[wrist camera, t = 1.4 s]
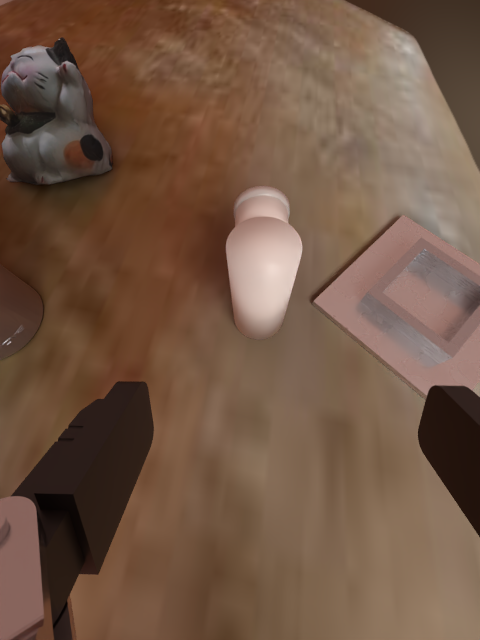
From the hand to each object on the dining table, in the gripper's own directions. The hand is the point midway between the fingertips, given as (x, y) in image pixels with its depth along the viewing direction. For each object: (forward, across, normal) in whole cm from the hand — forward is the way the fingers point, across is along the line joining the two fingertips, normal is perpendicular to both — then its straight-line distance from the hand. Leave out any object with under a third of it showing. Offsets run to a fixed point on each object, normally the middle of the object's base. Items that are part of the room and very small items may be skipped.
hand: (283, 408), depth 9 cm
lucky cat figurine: (+38, +26, -10) cm, 47 cm away
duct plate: (+23, -17, +5) cm, 29 cm away
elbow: (+24, 0, +4) cm, 24 cm away
